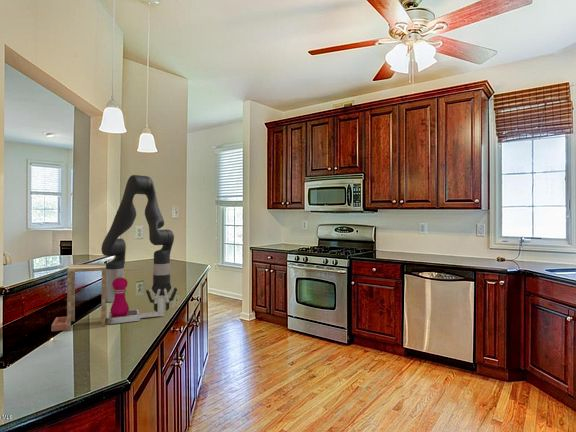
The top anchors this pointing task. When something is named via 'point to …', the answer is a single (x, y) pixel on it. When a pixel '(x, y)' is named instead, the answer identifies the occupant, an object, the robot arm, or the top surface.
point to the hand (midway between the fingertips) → (161, 310)
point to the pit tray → (59, 324)
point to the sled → (137, 314)
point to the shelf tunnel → (70, 289)
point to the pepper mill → (119, 297)
